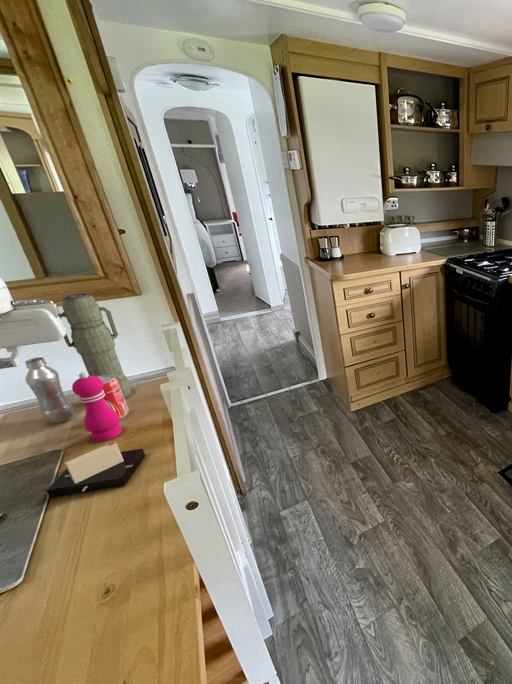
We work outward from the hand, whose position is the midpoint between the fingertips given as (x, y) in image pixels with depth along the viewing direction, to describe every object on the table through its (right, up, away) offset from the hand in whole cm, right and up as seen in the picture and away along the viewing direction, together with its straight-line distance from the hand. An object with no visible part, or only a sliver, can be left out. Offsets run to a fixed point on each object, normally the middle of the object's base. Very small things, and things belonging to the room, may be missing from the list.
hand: (9, 366), depth 79 cm
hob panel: (+7, -29, +12) cm, 32 cm away
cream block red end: (+8, -26, +12) cm, 30 cm away
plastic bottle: (-26, -19, +34) cm, 47 cm away
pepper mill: (-6, -22, +28) cm, 36 cm away
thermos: (-21, -14, +47) cm, 53 cm away
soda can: (-12, -19, +36) cm, 42 cm away
